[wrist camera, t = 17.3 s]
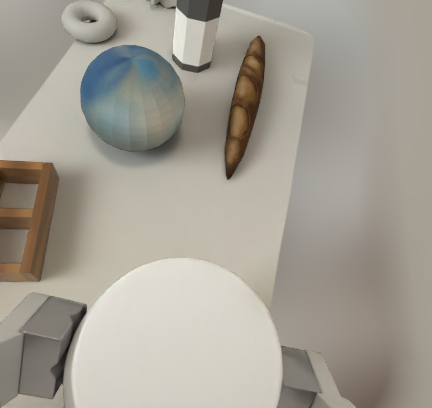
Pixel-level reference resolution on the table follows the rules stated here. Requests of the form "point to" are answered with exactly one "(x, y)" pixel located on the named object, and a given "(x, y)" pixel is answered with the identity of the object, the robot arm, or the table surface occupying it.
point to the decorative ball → (132, 98)
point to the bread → (245, 104)
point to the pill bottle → (175, 342)
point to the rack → (29, 216)
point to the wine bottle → (195, 33)
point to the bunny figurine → (164, 3)
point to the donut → (89, 11)
